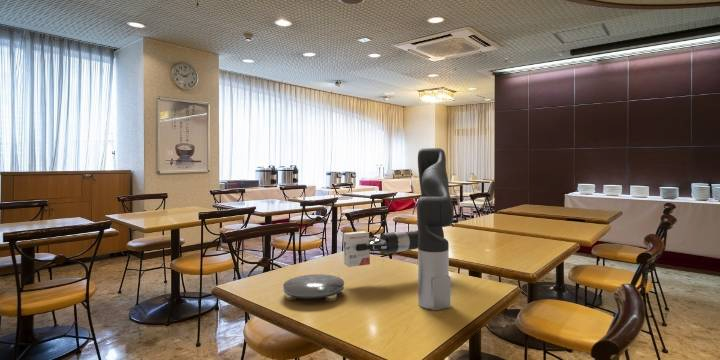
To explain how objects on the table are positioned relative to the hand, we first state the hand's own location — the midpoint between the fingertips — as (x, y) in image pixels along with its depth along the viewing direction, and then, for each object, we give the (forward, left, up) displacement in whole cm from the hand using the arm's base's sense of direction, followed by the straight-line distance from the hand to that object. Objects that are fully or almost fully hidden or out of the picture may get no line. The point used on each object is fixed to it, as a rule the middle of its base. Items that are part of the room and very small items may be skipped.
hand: (353, 246), depth 138 cm
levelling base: (-6, +17, -13) cm, 22 cm away
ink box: (0, -1, -7) cm, 7 cm away
